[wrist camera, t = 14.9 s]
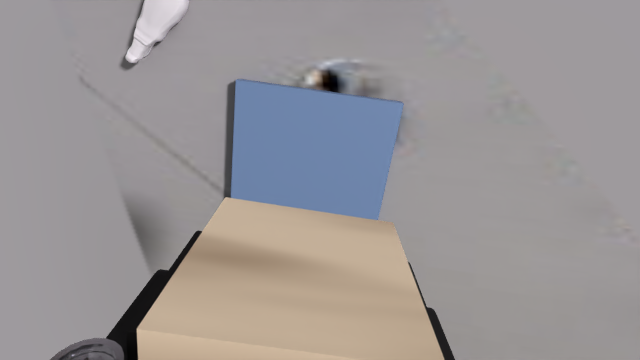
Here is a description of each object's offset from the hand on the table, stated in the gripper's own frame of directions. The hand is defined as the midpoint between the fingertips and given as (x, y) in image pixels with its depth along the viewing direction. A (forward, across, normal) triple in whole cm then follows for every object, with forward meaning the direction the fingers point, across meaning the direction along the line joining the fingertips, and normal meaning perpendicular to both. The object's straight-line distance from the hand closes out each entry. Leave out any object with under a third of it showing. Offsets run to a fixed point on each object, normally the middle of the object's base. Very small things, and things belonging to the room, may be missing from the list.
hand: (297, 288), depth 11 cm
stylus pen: (+20, +11, -10) cm, 25 cm away
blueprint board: (+19, 0, +8) cm, 21 cm away
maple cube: (0, 0, 0) cm, 0 cm away
